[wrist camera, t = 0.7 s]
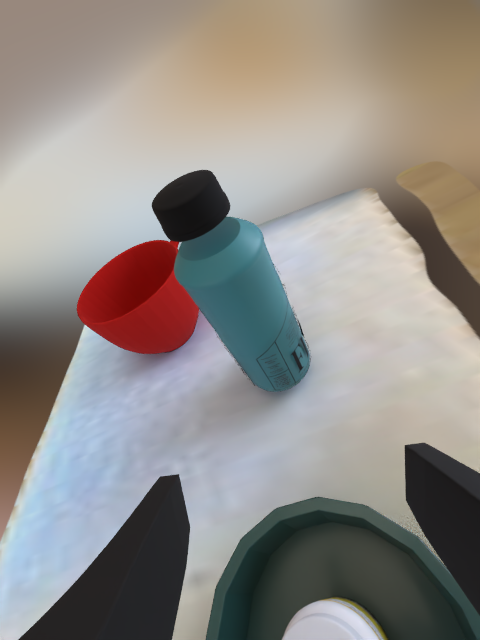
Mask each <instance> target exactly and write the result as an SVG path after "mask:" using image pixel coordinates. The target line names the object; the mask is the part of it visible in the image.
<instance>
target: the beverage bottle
mask: <svg viewBox="0 0 480 640" xmlns="http://www.w3.org/2000/svg"><path fill="white" fill-rule="evenodd" d="M152 208H153V211H154V213H155V215H156V217H157V219H158V220H159V222H160V224H161V226H162V229H163V231H164V233H165V234H166V236H167V237H168V238H169V239H170V240H171V241H175V242H182V243H181V246H180V248H179V251H178V253H177V256H176V259H175V264H174V274H175V277H176V279H177V281H178V282H179V283H180V284H181V285H182V286H183V287H184V288H185V290H186V291H187V293H188V294H189V295H190V297H191V298H192V299H193V301H194V302H195V304H196V305H197V306H198V308H199V309H200V310H201V312H202V313H203V314H204V316H205V317H206V319H207V320H208V321H209V323H210V324H211V325H212V327H213V328H214V329H215V331H216V332H217V334H218V335H219V337H220V338H221V340H222V341H221V342H223V343H224V344H225V345H224V346H226V347H227V348H228V349H226V348H225V349H226V350H227V351H228V350H229V351H230V352H231V353H230V352H229V351H228V352H229V353H230V354H232V355H233V356H234V357H233V358H235V359H236V360H237V361H236V362H238V363H239V366H241V367H242V370H244V371H245V373H246V375H248V377H249V378H250V379H251V381H252V382H253V384H254V386H255V385H257V386H258V387H260V388H262V389H264V390H267V391H273V392H277V391H283V390H287V389H289V388H291V387H293V386H295V385H296V384H298V383H299V382H300V381H301V380H302V379H303V377H304V376H305V375H306V373H307V371H308V368H309V365H310V364H309V360H310V361H311V359H310V357H309V356H310V355H309V351H310V350H309V351H308V349H307V346H308V345H307V346H306V344H305V341H306V340H305V341H304V339H303V338H305V337H303V336H304V335H303V332H302V329H301V326H300V323H298V322H299V321H298V320H297V321H296V319H297V318H295V316H294V315H295V314H294V312H293V310H292V309H293V308H291V306H290V303H289V301H288V298H287V296H286V294H287V292H286V293H285V291H284V288H283V286H282V285H283V284H282V283H281V281H280V278H279V276H278V274H277V272H276V270H275V267H274V266H275V265H274V264H273V262H272V260H271V257H270V255H269V253H268V250H267V248H266V245H265V243H264V238H263V234H262V232H261V230H260V229H259V228H258V227H257V226H256V225H255V224H253V223H251V222H249V221H246V220H242V219H239V218H234V217H226V215H227V214H228V212H229V210H230V203H229V200H228V198H227V196H226V194H225V193H224V192H223V190H222V189H221V186H220V185H219V183H218V181H217V179H216V177H215V176H214V174H213V173H212V172H211V171H208V170H199V171H194V172H191V173H188V174H186V175H183V176H181V177H179V178H177V179H176V180H174V181H172V182H171V183H169V184H168V185H167V186H165V187H164V188H163V189H162V190H161V191H160V192H159V193H158V194H157V195H156V197H155V198H154V200H153V202H152ZM278 272H279V271H278ZM284 286H285V285H284ZM285 289H286V287H285ZM298 324H299V325H298ZM299 326H300V328H299ZM300 330H301V331H300ZM217 334H216V335H217ZM302 335H303V336H302ZM219 337H218V338H219ZM306 343H307V342H306ZM221 344H222V343H221ZM308 347H309V346H308ZM310 354H311V353H310ZM230 356H231V355H230ZM239 368H240V367H239ZM242 372H243V371H242ZM243 373H244V372H243ZM250 379H249V380H250Z"/></svg>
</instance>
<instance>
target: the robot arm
mask: <svg viewBox="0 0 480 640" xmlns="http://www.w3.org/2000/svg"><path fill="white" fill-rule="evenodd" d="M405 479H406V501H407V503H408V505H409V507H410V509H411V511H412V512H413V514H414V516H415V518H416V520H417V522H418V524H419V525H420V527H421V529H422V531H423V533H424V534H425V536H426V538H427V539H428V541H429V542H430V544H431V545H432V547H433V548H434V550H435V551H436V553H437V554H438V556H439V557H440V559H441V560H442V561H443V563H444V564H445V566H446V567H447V569H448V570H449V572H450V573H451V575H452V576H453V578H454V579H455V581H456V582H457V583H458V585H459V586H460V588H461V589H462V591H463V592H464V594H465V595H466V597H467V598H468V599H469V601H470V602H471V604H472V605H473V607H474V608H475V610H476V611H477V613H478V614H479V616H480V473H478V472H476V471H474V470H473V469H471V468H469V467H467V466H466V465H464V464H462V463H460V462H458V461H457V460H455V459H453V458H451V457H450V456H448V455H446V454H444V453H443V452H441V451H439V450H437V449H435V448H433V447H432V446H430V445H428V444H426V443H419V444H411V445H405ZM189 533H190V524H189V520H188V515H187V510H186V506H185V501H184V496H183V492H182V487H181V482H180V478H179V474H178V475H170V476H162V477H160V478H159V479H158V480H157V481H156V483H155V484H154V485H153V486H152V488H151V489H150V490H149V492H148V493H147V494H146V496H145V497H144V498H143V500H142V501H141V502H140V504H139V505H138V506H137V508H136V509H135V510H134V512H133V513H132V514H131V516H130V517H129V518H128V519H127V521H126V522H125V523H124V525H123V526H122V527H121V528H120V530H119V531H118V532H117V534H116V535H115V536H114V537H113V539H112V540H111V541H110V542H109V543H108V545H107V546H106V547H105V548H104V549H103V551H102V552H101V553H100V554H99V555H98V557H97V558H96V559H95V560H94V561H93V562H92V564H91V565H90V566H89V567H88V568H87V570H86V571H85V572H84V573H83V574H82V575H81V576H80V577H79V579H78V580H77V581H76V582H75V583H74V584H73V585H72V586H71V587H70V588H69V589H68V591H67V592H66V593H65V594H64V595H63V596H62V597H61V598H60V599H59V600H58V601H57V602H56V603H55V604H54V605H53V606H52V607H51V608H50V609H49V610H48V611H47V612H46V613H45V614H44V615H43V616H42V617H41V618H40V619H39V620H38V621H37V622H36V623H35V624H34V625H33V626H32V627H31V628H30V629H29V630H28V631H27V632H26V633H25V634H24V635H23V636H22V637H21V638H20V639H19V640H172V636H173V631H174V626H175V621H176V616H177V611H178V606H179V601H180V596H181V591H182V585H183V580H184V575H185V570H186V564H187V555H188V545H189Z"/></svg>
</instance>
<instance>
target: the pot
mask: <svg viewBox="0 0 480 640" xmlns="http://www.w3.org/2000/svg"><path fill="white" fill-rule="evenodd" d="M331 597H346V598H350V599H352V600H355V601H357V602H358V603H360V604H362V605H363V606H364V607H365V608H367V609H368V610H369V611H370V612H371V613H372V614H373V615H374V616H375V618H376V619H377V620H378V621H379V623H380V624H381V626H382V627H383V629H384V631H385V632H386V634H387V636H388V638H389V640H480V616H479V614H478V613H477V611H476V610H475V608H474V607H473V605H472V604H471V602H470V601H469V599H468V598H467V597H466V595H465V594H464V592H463V591H462V589H461V588H460V586H459V585H458V583H457V582H456V581H455V579H454V578H453V576H452V575H451V573H450V572H449V570H448V569H447V568H446V567H445V566H444V565H443V563H442V562H441V561H440V560H439V559H438V558H437V557H436V556H435V555H434V553H433V552H432V551H431V550H430V549H429V548H428V547H427V546H426V545H425V543H424V542H423V541H422V540H421V539H420V538H419V537H418V536H416V535H414V534H413V533H411V532H409V531H408V530H406V529H404V528H403V527H401V526H399V525H398V524H396V523H395V522H393V521H391V520H390V519H388V518H386V517H385V516H383V515H381V514H380V513H378V512H376V511H375V510H373V509H371V508H370V507H368V506H365V505H363V504H357V503H351V502H345V501H340V500H334V499H328V498H322V497H314V498H311V499H307V500H304V501H300V502H297V503H293V504H290V505H286V506H282V507H279V508H276V509H274V510H273V511H272V512H271V513H270V514H269V515H267V516H266V517H265V518H264V519H263V520H262V521H261V522H260V523H258V524H257V525H256V526H255V527H254V528H253V529H252V530H250V531H249V532H248V533H247V534H246V535H245V536H244V537H242V539H241V540H240V542H239V544H238V545H237V547H236V549H235V551H234V553H233V555H232V557H231V559H230V561H229V563H228V565H227V567H226V568H225V570H224V572H223V574H222V576H221V578H220V580H219V582H218V584H217V586H216V589H215V594H214V599H213V604H212V610H211V615H210V620H209V625H208V630H207V635H206V640H282V638H283V636H284V633H285V630H286V628H287V626H288V624H289V622H290V621H291V619H292V618H293V617H294V615H295V614H296V613H297V612H298V611H299V610H301V609H302V608H304V607H305V606H307V605H309V604H311V603H313V602H316V601H319V600H324V599H329V598H331Z"/></svg>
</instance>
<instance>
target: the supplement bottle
mask: <svg viewBox="0 0 480 640" xmlns="http://www.w3.org/2000/svg"><path fill="white" fill-rule="evenodd" d="M282 640H389V638H388V636H387V634H386V632H385V631H384V629H383V627H382V626H381V624H380V623H379V621H378V620H377V619H376V618H375V616H374V615H373V614H372V613H371V612H370V611H369V610H368V609H367V608H365V607H364V606H363V605H362V604H360V603H358V602H357V601H355V600H352V599H350V598H346V597H331V598H329V599H324V600H319V601H316V602H313V603H311V604H309V605H307V606H305V607H304V608H302V609H301V610H299V611H298V612H297V613H296V614H295V615H294V617H293V618H292V619H291V621H290V622H289V624H288V626H287V628H286V630H285V633H284V636H283V638H282Z"/></svg>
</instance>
